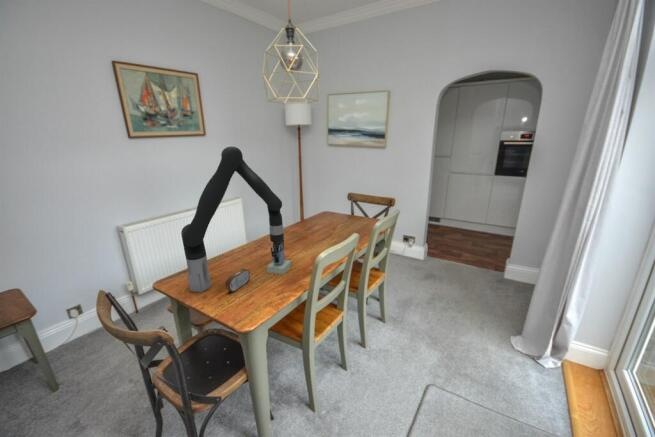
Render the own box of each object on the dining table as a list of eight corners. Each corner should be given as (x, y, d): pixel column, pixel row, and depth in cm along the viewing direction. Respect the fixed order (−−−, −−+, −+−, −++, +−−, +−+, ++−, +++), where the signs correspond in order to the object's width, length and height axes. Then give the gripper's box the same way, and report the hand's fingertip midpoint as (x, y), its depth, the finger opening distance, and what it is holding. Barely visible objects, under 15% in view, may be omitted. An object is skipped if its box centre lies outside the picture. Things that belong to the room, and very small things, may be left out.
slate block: (281, 264, 157) (280, 252, 155) (273, 263, 158) (272, 251, 156) (284, 260, 162) (283, 249, 160) (276, 259, 163) (275, 248, 161)
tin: (247, 279, 151) (245, 265, 148) (251, 280, 149) (250, 266, 147) (225, 293, 138) (223, 278, 135) (230, 295, 137) (228, 279, 134)
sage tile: (283, 275, 155) (283, 268, 154) (267, 272, 158) (266, 266, 157) (291, 267, 165) (290, 260, 163) (275, 265, 167) (275, 258, 166)
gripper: (278, 237, 147) (280, 266, 152) (287, 228, 161) (289, 255, 166) (264, 236, 149) (267, 265, 154) (275, 227, 162) (277, 254, 167)
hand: (278, 260), depth 160 cm, fingers closed on slate block, 5 cm apart
